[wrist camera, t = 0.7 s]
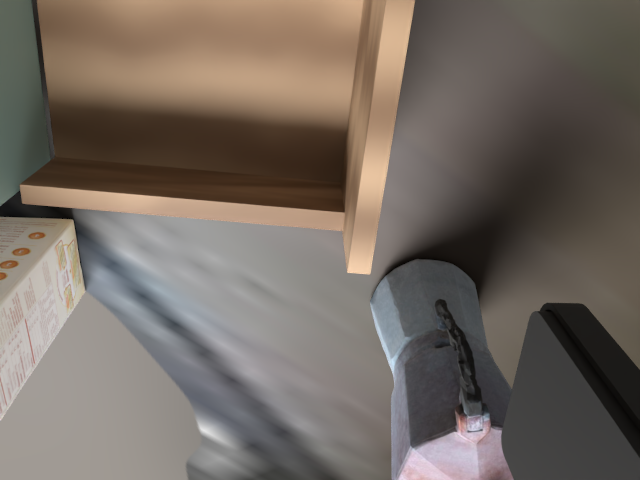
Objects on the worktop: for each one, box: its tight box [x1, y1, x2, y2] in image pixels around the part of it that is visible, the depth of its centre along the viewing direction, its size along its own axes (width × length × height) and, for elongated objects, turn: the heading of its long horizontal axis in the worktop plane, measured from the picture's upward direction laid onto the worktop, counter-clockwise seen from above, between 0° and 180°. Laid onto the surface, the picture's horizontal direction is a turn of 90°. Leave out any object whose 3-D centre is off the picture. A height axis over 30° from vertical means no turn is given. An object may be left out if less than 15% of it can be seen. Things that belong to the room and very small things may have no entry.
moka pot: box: [370, 259, 514, 480], centre depth 38 cm, size 10×15×20 cm, turn 14°
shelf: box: [19, 0, 415, 274], centre depth 30 cm, size 23×20×14 cm
